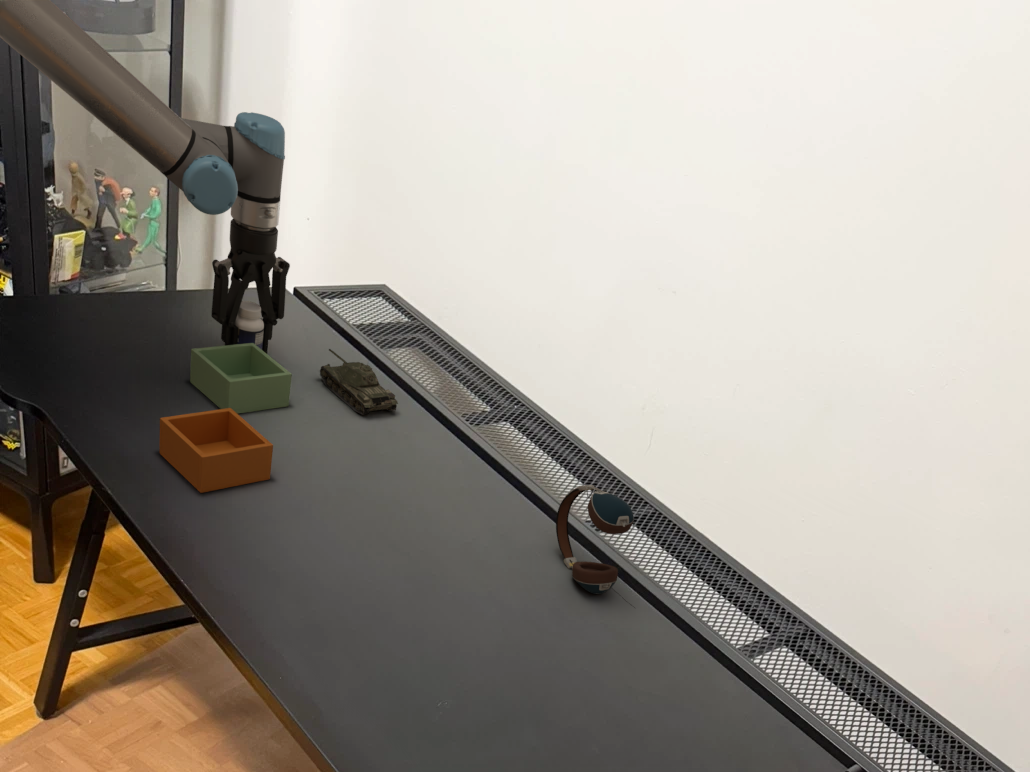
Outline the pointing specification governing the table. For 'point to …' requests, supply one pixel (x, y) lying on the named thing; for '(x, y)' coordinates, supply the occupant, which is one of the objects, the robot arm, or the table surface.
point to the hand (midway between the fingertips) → (245, 358)
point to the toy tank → (357, 386)
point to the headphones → (608, 518)
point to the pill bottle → (250, 324)
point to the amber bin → (215, 449)
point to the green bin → (240, 377)
